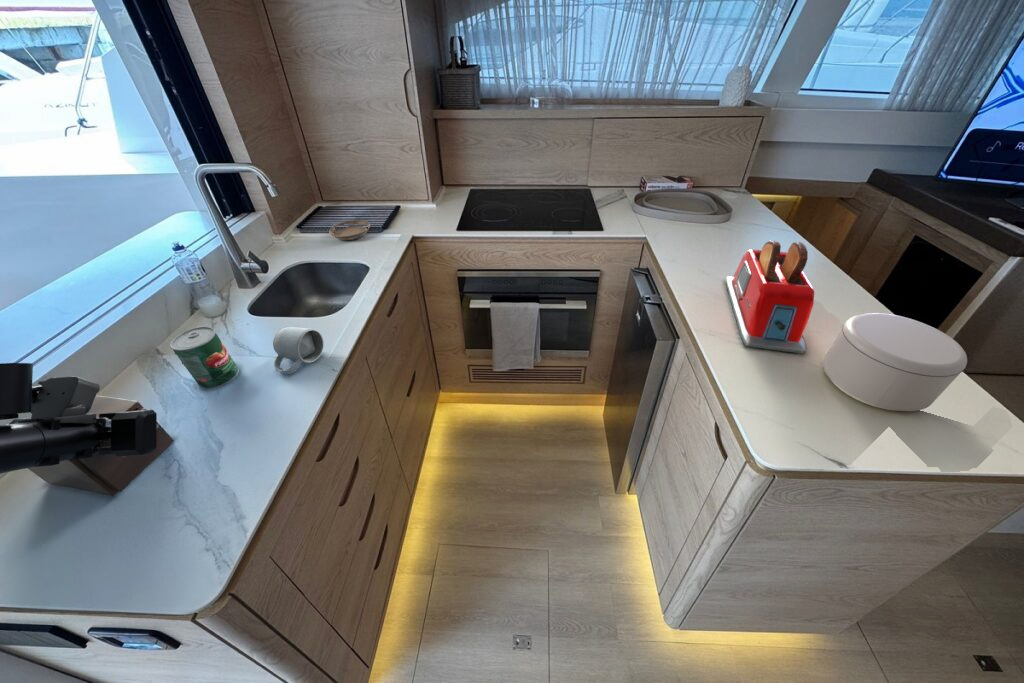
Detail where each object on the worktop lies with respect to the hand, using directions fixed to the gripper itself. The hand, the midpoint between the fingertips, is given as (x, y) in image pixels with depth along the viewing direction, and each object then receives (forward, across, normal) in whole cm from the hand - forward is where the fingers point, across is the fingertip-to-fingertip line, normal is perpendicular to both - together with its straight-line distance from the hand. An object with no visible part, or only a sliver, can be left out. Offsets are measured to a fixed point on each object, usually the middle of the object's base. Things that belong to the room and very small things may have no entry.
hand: (137, 427), depth 65 cm
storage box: (+7, +10, +6) cm, 13 cm away
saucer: (+79, -7, -60) cm, 100 cm away
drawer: (+5, +6, +6) cm, 10 cm away
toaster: (+31, -127, -16) cm, 132 cm away
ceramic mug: (+25, -14, -11) cm, 31 cm away
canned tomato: (+22, +2, -8) cm, 24 cm away
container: (+11, -135, +2) cm, 136 cm away
